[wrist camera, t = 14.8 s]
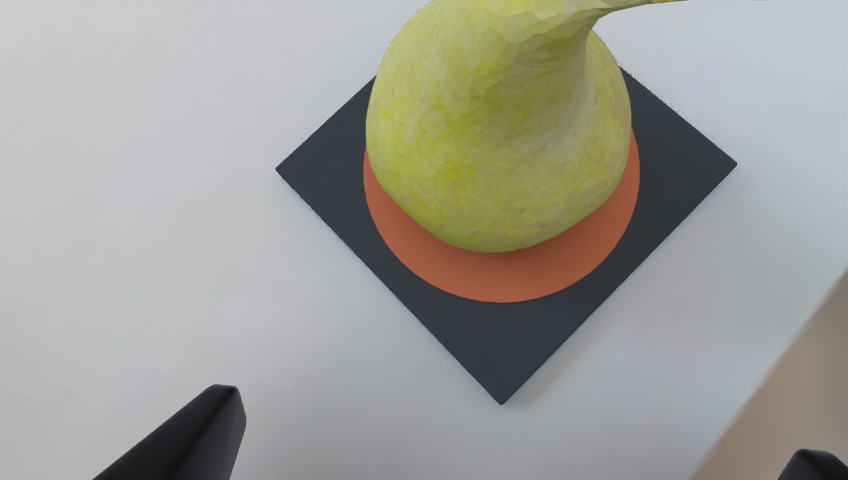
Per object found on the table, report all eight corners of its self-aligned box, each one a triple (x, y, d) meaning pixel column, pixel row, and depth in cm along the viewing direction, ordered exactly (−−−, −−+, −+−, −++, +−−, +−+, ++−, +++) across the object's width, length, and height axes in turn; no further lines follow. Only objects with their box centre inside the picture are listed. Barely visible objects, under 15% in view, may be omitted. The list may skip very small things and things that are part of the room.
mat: (730, 169, 18) (740, 162, 17) (500, 404, 17) (501, 406, 16) (494, -26, 20) (495, -39, 19) (279, 173, 19) (272, 167, 18)
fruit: (437, 48, 19) (390, -461, 7) (642, 127, 17) (1007, -320, 6) (353, 215, 18) (130, -42, 6) (564, 310, 16) (810, 228, 5)
